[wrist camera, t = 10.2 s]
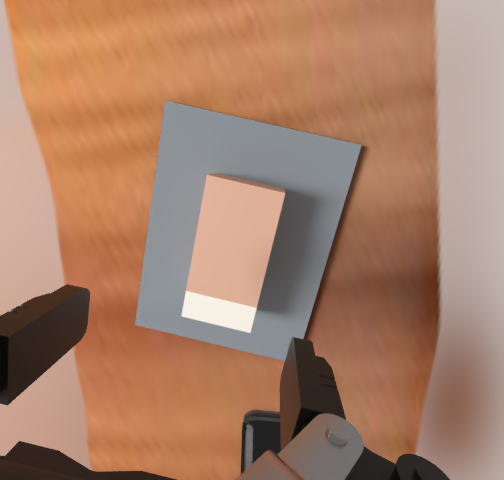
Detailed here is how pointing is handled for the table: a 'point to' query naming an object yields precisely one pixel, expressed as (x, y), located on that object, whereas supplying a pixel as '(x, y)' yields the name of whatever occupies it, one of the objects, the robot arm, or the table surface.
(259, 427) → the phone
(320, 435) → the robot arm
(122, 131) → the table surface
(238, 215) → the white-tipped pink eraser
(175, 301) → the mat
